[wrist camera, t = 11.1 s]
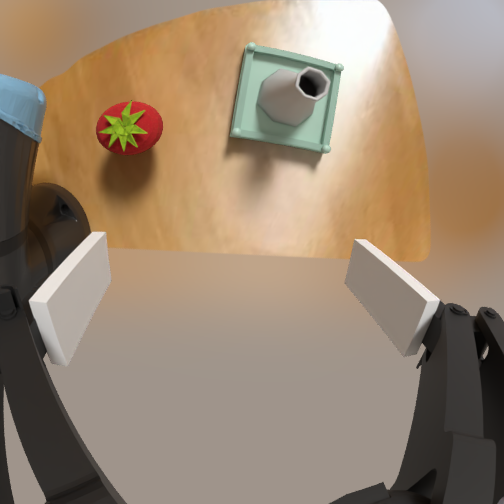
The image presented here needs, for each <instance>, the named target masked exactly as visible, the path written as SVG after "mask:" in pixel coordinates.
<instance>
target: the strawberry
mask: <svg viewBox="0 0 504 504" xmlns="http://www.w3.org/2000/svg"><path fill="white" fill-rule="evenodd" d="M162 131H163V122H162V118H161V116H160V115H159V113H158V112H157V111H156V110H155V109H154V108H153V107H151V106H150V105H147V104H145V103H141V102H132V100H131V101H130V102H124V103H120V104H116V105H114V106H112V107H110V108H109V109H108V110H106V111H105V112H104V113H103V114H102V116H101V117H100V118H99V120H98V123H97V127H96V134H97V138H98V140H99V142H100V143H101V144H102V146H103V147H105V148H106V149H107V150H110V151H112V152H114V153H117V154H121V155H134V154H138V153H142V152H144V151H146V150H148V149H150V148H151V147H152V146H153V145H155V144H156V142H157V141H158V140H159V138H160V136H161V134H162Z"/></svg>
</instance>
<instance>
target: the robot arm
mask: <svg viewBox="0 0 504 504" xmlns="http://www.w3.org/2000/svg"><path fill="white" fill-rule="evenodd" d="M45 110H46V97H45V95H44V93H43V92H42V90H41V89H39V88H38V87H36V86H35V85H32V84H30V83H27V82H25V81H22V80H19V79H16V78H13V77H10V76H6V75H3V74H0V504H14V500H13V495H12V490H11V485H10V479H9V473H8V466H7V458H6V449H5V437H4V414H3V397H4V387H5V391H6V395H7V399H8V403H9V406H10V410H11V413H12V416H13V420H14V423H15V426H16V429H17V432H18V435H19V438H20V440H21V443H22V446H23V448H24V451H25V454H26V456H27V458H28V461H29V463H30V465H31V468H32V470H33V472H34V474H35V477H36V479H37V481H38V483H39V485H40V487H41V489H42V491H43V492H44V495H45V497H46V501H47V502H46V503H45V504H127V503H126V502H125V501H124V500H123V498H122V497H121V496H120V495H119V493H118V492H117V491H116V489H115V488H114V487H113V485H112V484H111V483H110V481H109V480H108V479H107V477H106V476H105V474H104V473H103V472H102V470H101V469H100V467H99V466H98V464H97V463H96V461H95V460H94V458H93V457H92V455H91V453H90V452H89V450H88V449H87V447H86V445H85V444H84V442H83V440H82V439H81V437H80V435H79V434H78V432H77V430H76V428H75V426H74V425H73V423H72V421H71V419H70V417H69V416H68V413H67V411H66V409H65V407H64V405H63V403H62V401H61V400H60V398H59V395H58V393H57V391H56V389H55V387H54V384H53V382H52V380H51V377H50V375H49V373H48V370H47V368H46V365H45V363H44V361H43V358H44V356H45V354H46V352H47V354H48V356H49V358H50V361H51V363H52V364H57V365H62V366H69V363H70V361H71V359H72V357H73V355H74V353H75V351H76V348H77V346H78V344H79V342H80V340H81V338H82V336H83V334H84V332H85V330H86V328H87V326H88V324H89V322H90V320H91V318H92V316H93V314H94V312H95V310H96V308H97V306H98V304H99V303H100V301H101V299H102V297H103V295H104V293H105V292H106V290H107V288H108V286H109V284H110V283H111V273H110V266H109V258H108V248H107V238H106V232H92V233H91V231H90V226H89V222H88V219H87V217H86V214H85V212H84V210H83V208H82V206H81V205H80V203H79V202H78V201H77V199H76V198H75V197H74V196H73V195H72V194H71V193H70V192H69V191H67V190H66V189H64V188H63V187H61V186H59V185H56V184H52V183H40V184H37V185H34V186H32V181H33V174H34V168H35V162H36V157H37V152H38V147H39V143H41V140H42V138H41V131H42V125H43V120H44V115H45ZM345 284H346V285H347V287H348V288H349V289H350V290H351V292H352V293H353V294H354V295H355V296H356V298H357V299H358V300H359V301H360V303H361V304H362V305H363V306H364V307H365V309H366V310H367V311H368V312H369V314H370V315H371V316H372V317H373V319H374V320H375V321H376V322H377V324H378V325H379V326H380V327H381V328H382V330H383V331H384V332H385V334H386V335H387V336H388V338H389V339H390V340H391V341H392V343H393V344H394V345H395V346H396V348H397V349H398V350H399V352H400V353H401V354H402V356H403V357H406V356H411V355H415V354H417V352H418V350H419V348H420V346H421V344H422V343H423V344H424V346H425V347H426V349H425V351H424V353H423V355H422V357H421V359H420V361H419V363H418V365H417V367H416V368H417V369H418V368H419V366H420V365H422V366H421V374H420V381H419V388H418V394H417V400H416V406H415V412H414V417H413V421H412V426H411V430H410V435H409V439H408V443H407V447H406V451H405V455H404V458H403V461H402V465H401V468H400V472H399V475H398V477H397V480H396V482H395V483H394V485H393V486H392V487H391V489H390V490H387V489H386V487H385V485H384V483H383V482H382V483H379V484H377V485H374V486H371V487H368V488H365V489H362V490H359V491H356V492H353V493H350V494H346V495H345V496H343V497H341V498H339V499H337V500H336V501H333V502H332V503H330V504H504V322H503V320H502V318H501V317H500V315H499V314H498V313H496V311H495V310H493V309H492V308H487V307H481V308H480V309H479V311H478V314H477V316H470V315H469V312H468V311H467V310H466V309H465V308H463V307H461V306H460V305H457V304H453V303H448V304H446V305H444V303H442V302H441V301H440V300H439V299H438V298H437V297H436V296H435V295H434V294H432V293H431V292H430V291H429V290H428V289H427V288H426V287H424V286H423V285H422V284H421V283H420V282H418V281H417V280H416V279H415V278H413V277H412V276H411V275H410V274H409V273H408V272H406V271H405V270H404V269H403V268H401V267H400V266H399V265H398V264H396V263H395V262H394V261H393V260H392V259H390V258H389V257H388V256H386V255H385V254H384V253H383V252H381V251H380V250H379V249H378V248H376V247H375V246H374V245H372V244H371V243H370V242H368V241H367V240H364V239H354V244H353V249H352V253H351V258H350V262H349V267H348V271H347V275H346V279H345ZM488 346H489V350H488V354H487V356H486V358H485V359H484V358H483V354H484V352H485V350H486V348H487V347H488Z"/></svg>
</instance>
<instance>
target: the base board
mask: <svg viewBox="0 0 504 504" xmlns="http://www.w3.org/2000/svg"><path fill="white" fill-rule="evenodd" d="M308 66H309V67H312V68H315V69H318V70H321V71H322V72H323V73H324V74H325V75H326V77H327V78H328V79H329V80H330V86H329V91H328V94H327V95H326V96H324V97H323V98H322V99H320V100H319V101H317V102H316V103H315V107H314V111H313V114H312V115H310V116H309V117H308V118H307V119H305V120H304V121H303V122H301V123H300V124H299V125H298V126H296V127H293V126H289V125H286V124H282V123H278V122H274V121H272V120H271V119H270V118H269V117H268V115H267V114H266V113H265V112H264V111H263V110H262V109H261V108H260V106H259V105H258V104H257V100H258V96H259V91H260V87H261V83H262V81H263V80H264V79H266V78H267V77H269V76H270V75H271V74H273V73H274V72H276V71H277V70H278V69H280V68H281V69H285V70H289V71H292V72H296V73H299V72H301V71H302V70H304V69H305V68H307V67H308ZM343 69H344V66H343V65H342V64H333V63H330V62H327V61H323V60H320V59H316V58H312V57H309V56H305V55H301V54H297V53H293V52H288V51H284V50H279V49H274V48H269V47H264V46H258V45H256V44H255V43H252V42H251V43H248V45H246V47H245V52H244V57H243V62H242V68H241V73H240V79H239V84H238V90H237V96H236V101H235V107H234V113H233V119H232V126H231V132H230V137H235V138H243V139H249V140H256V141H262V142H268V143H274V144H280V145H285V146H290V147H296V148H301V149H306V150H310V151H315V152H320V153H324V154H326V153H329V152H330V151H331V147H330V146H329V144H330V138H331V133H332V127H333V121H334V115H335V109H336V103H337V96H338V90H339V83H340V76H341V71H342V70H343Z"/></svg>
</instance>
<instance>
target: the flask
mask: <svg viewBox="0 0 504 504" xmlns="http://www.w3.org/2000/svg"><path fill="white" fill-rule="evenodd" d="M329 86H330V80H329V79H328V78H327V77H326V75H325V74H324V73H323V72H322V71H321V70H318V69H315V68H312V67H309V66H308V67H307V68H305V69H304V70H302V71H301V72H299V73H296V72H292V71H289V70H285V69H281V68H280V69H278V70H277V71H276V72H274V73H273V74H271V75H270V76H269V77H267V78H266V79H264V80H263V81H262V83H261V87H260V91H259V96H258V100H257V104H258V105H259V106H260V108H261V109H262V110H263V111H264V112H265V113H266V114H267V115H268V117H269V118H270V119H271V120H272V121H274V122H278V123H282V124H286V125H289V126H293V127H296V126H298V125H299V124H300V123H301V122H303V121H304V120H305V119H307V118H308V117H309V116H310V115H312V114H313V111H314V107H315V103H316V102H317V101H319V100H320V99H322V98H323V97H324V96H326V95H327V94H328V91H329Z"/></svg>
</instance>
